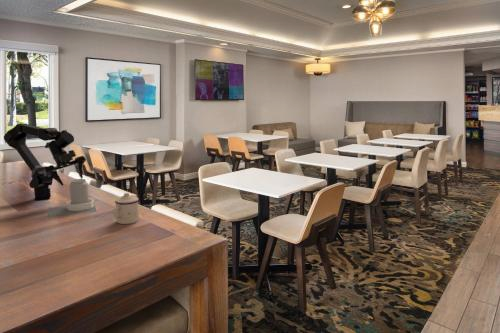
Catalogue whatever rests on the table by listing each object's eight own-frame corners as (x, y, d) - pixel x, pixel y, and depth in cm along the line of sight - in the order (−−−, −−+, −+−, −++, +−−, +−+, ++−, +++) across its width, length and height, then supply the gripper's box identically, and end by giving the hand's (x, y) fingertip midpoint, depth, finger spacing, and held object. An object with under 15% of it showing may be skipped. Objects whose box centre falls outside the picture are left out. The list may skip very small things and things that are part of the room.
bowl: (67, 212, 164) (66, 205, 163) (67, 206, 174) (66, 199, 173) (95, 209, 168) (94, 202, 168) (93, 203, 178) (92, 197, 178)
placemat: (47, 218, 157) (47, 217, 157) (48, 208, 171) (48, 207, 171) (96, 212, 165) (96, 211, 165) (94, 203, 179) (94, 202, 179)
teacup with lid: (127, 216, 160) (126, 189, 158) (144, 219, 156) (143, 191, 154) (105, 224, 149) (103, 196, 147) (123, 228, 145) (121, 198, 143)
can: (77, 209, 166) (74, 182, 164) (67, 206, 170) (65, 180, 168) (92, 205, 172) (90, 179, 170) (83, 202, 176) (81, 177, 174)
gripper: (40, 152, 166) (55, 183, 166) (81, 140, 179) (96, 170, 178) (36, 160, 175) (51, 190, 174) (76, 149, 187) (89, 177, 187)
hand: (72, 181), depth 178 cm, fingers open, 9 cm apart
